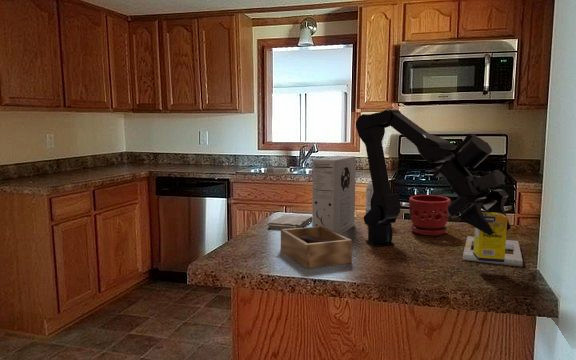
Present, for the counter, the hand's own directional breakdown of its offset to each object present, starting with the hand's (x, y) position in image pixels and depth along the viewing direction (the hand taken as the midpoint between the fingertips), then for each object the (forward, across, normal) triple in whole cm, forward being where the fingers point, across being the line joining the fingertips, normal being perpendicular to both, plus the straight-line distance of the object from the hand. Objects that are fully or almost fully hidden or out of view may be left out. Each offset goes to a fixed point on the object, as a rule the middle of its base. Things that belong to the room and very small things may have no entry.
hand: (500, 231), depth 105 cm
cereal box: (-32, +1, +49) cm, 59 cm away
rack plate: (0, +18, +15) cm, 23 cm away
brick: (-20, -23, +36) cm, 47 cm away
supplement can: (-32, +22, +48) cm, 62 cm away
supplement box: (+3, 0, +7) cm, 8 cm away
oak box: (-19, -24, +35) cm, 47 cm away
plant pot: (-18, +24, +34) cm, 45 cm away
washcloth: (-44, -5, +61) cm, 75 cm away
